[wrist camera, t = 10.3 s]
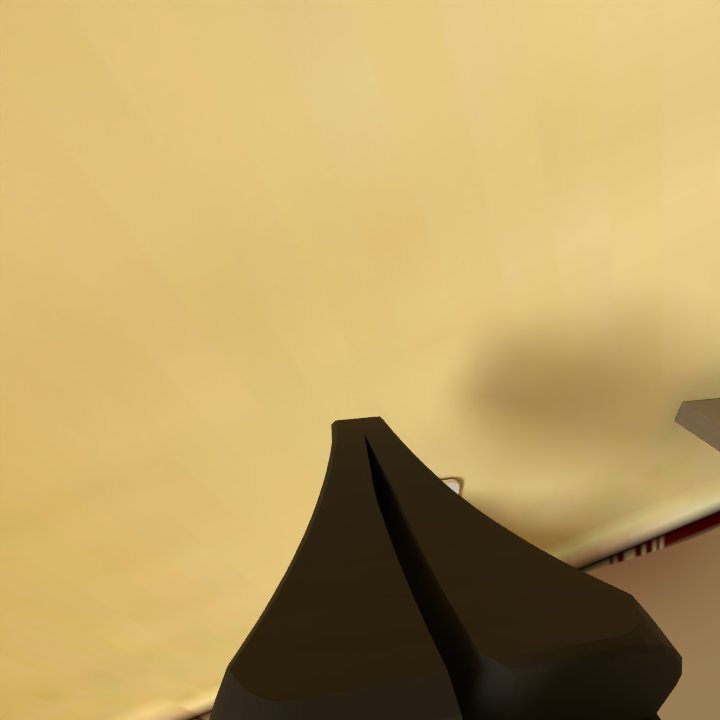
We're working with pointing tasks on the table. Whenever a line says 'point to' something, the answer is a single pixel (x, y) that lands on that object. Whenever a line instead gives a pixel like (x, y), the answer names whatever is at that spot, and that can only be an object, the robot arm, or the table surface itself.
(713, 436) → the bay
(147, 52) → the table surface
